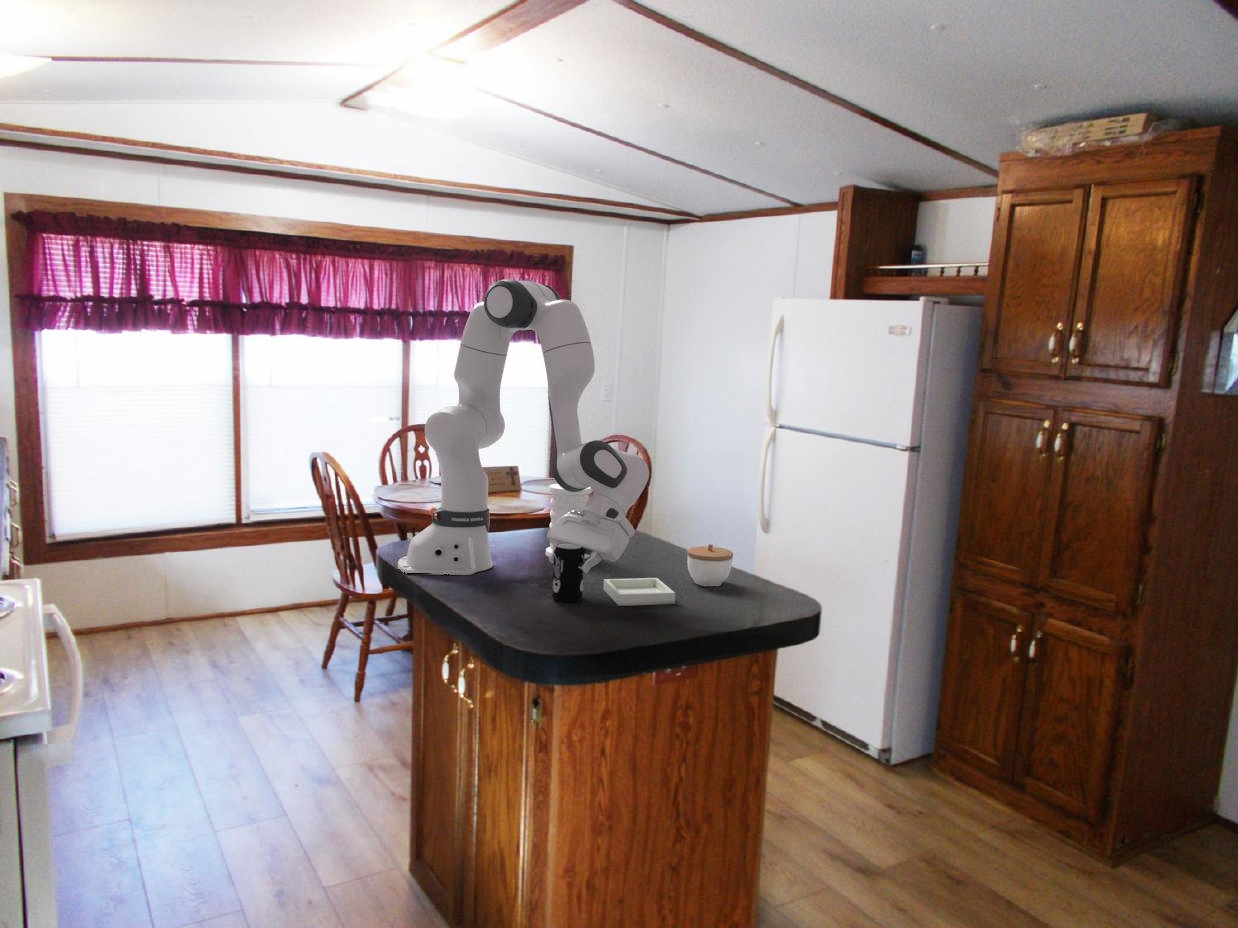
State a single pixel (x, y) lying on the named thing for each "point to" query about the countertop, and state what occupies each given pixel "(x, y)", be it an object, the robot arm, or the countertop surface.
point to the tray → (639, 591)
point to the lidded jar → (709, 564)
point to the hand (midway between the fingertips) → (566, 566)
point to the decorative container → (565, 505)
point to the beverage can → (567, 573)
